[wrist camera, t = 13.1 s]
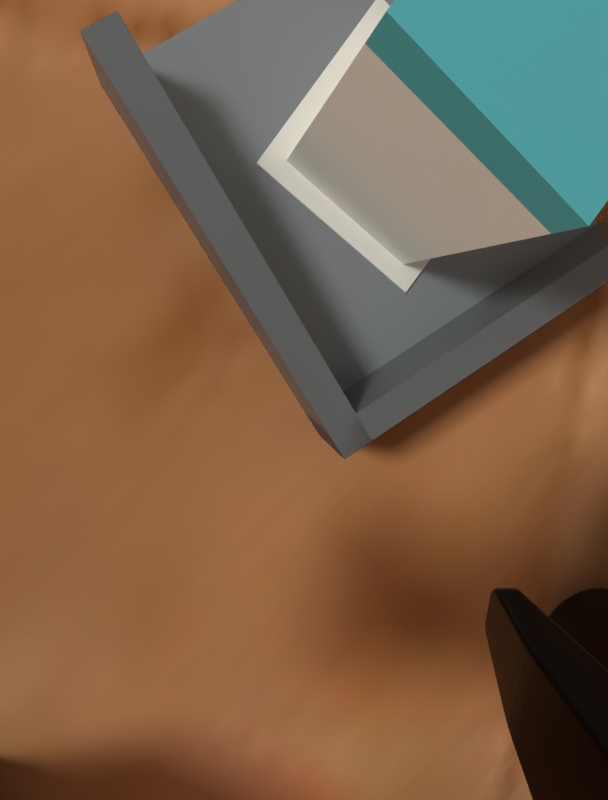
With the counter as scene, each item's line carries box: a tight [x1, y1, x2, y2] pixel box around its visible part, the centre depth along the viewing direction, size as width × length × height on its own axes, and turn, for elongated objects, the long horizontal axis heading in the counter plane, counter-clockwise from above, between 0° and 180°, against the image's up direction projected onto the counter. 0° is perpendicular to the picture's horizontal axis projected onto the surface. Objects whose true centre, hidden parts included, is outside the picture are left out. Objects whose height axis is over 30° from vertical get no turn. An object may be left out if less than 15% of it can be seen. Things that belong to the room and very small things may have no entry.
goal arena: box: [80, 0, 608, 459], centre depth 19 cm, size 15×15×4 cm
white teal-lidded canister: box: [286, 0, 608, 264], centre depth 15 cm, size 6×6×10 cm
